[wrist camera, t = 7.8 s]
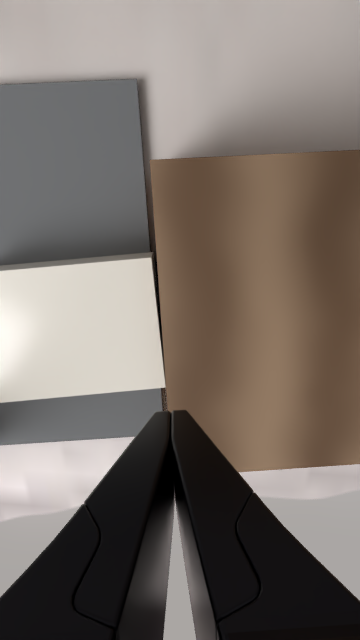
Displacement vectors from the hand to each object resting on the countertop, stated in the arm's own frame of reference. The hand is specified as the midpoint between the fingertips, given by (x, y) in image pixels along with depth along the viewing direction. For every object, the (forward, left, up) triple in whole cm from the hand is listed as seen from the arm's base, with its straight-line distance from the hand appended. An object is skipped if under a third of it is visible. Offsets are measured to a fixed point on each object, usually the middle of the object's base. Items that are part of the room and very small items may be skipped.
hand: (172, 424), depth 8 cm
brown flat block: (-8, +1, -11) cm, 14 cm away
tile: (+5, 0, -11) cm, 12 cm away
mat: (+8, -1, -11) cm, 13 cm away
